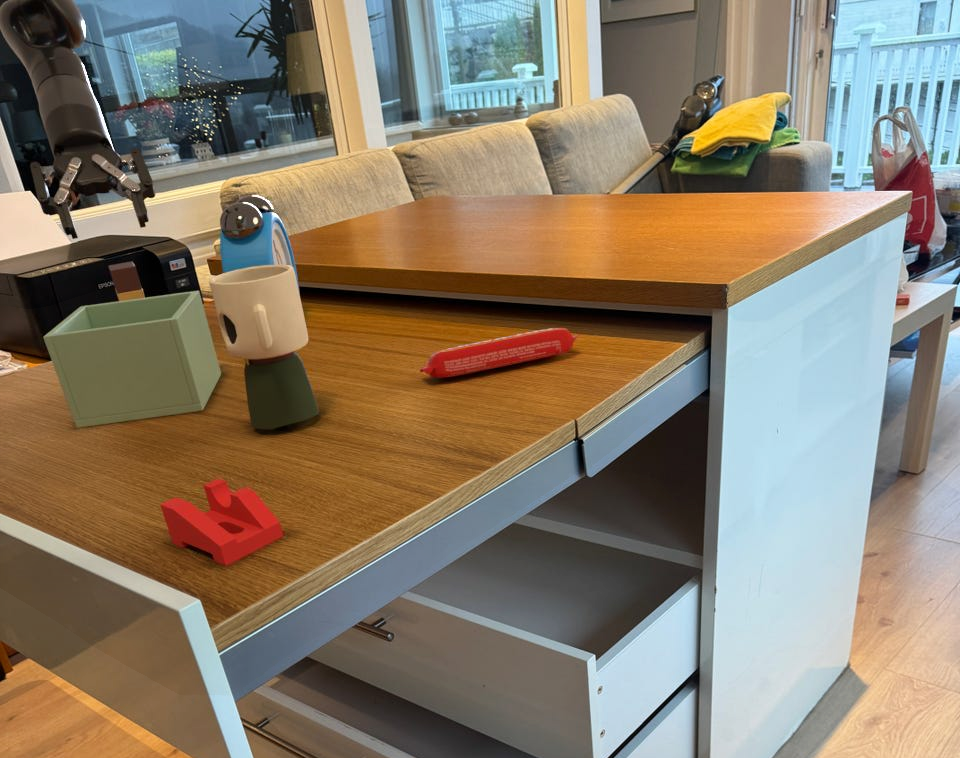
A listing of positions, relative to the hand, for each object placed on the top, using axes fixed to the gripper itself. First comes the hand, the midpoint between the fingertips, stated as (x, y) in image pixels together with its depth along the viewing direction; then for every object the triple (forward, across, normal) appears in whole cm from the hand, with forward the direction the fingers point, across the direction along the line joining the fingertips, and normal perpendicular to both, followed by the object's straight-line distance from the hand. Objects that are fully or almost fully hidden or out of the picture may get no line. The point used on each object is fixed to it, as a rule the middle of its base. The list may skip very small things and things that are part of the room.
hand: (108, 228), depth 115 cm
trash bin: (+34, -1, -17) cm, 38 cm away
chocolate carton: (+14, 0, +4) cm, 15 cm away
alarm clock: (+21, +15, -3) cm, 26 cm away
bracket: (+62, 0, -44) cm, 76 cm away
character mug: (+47, +9, -29) cm, 56 cm away
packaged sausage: (+46, +31, -28) cm, 62 cm away
